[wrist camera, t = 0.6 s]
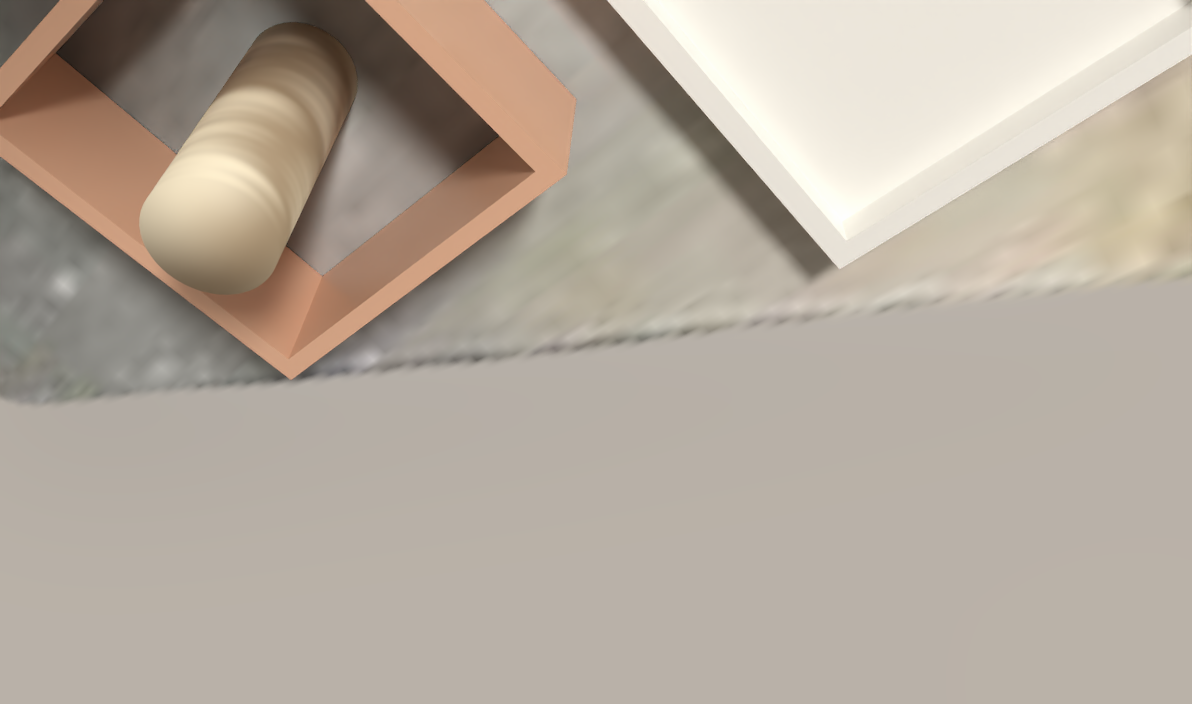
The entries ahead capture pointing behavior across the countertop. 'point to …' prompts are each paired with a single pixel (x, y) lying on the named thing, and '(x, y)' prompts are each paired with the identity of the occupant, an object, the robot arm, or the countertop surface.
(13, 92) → the peach storage bin
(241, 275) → the dowel pin
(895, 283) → the countertop surface
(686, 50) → the tray
